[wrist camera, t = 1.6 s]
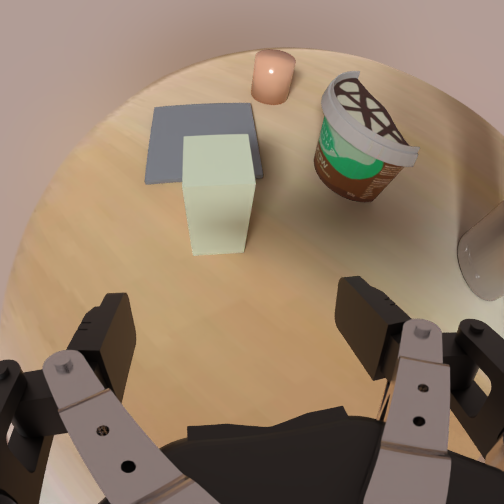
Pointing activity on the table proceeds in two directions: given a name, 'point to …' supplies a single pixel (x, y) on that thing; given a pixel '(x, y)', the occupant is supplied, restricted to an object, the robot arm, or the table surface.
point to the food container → (358, 142)
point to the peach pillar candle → (272, 76)
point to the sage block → (218, 192)
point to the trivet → (194, 124)
